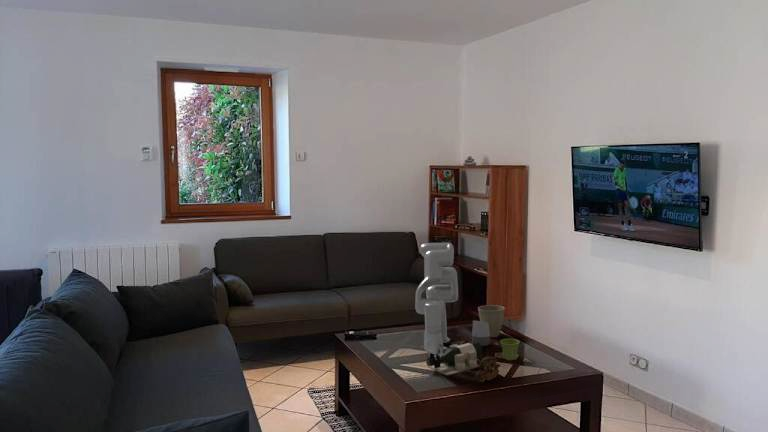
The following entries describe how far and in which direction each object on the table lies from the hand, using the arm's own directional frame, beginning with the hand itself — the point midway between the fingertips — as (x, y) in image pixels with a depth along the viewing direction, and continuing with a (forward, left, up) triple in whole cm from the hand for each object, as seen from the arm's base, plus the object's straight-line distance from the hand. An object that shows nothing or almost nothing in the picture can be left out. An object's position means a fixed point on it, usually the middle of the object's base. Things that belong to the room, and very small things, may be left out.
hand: (435, 366), depth 275 cm
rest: (0, +11, -2) cm, 11 cm away
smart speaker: (-18, +43, -3) cm, 46 cm away
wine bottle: (0, +26, +3) cm, 26 cm away
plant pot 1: (-28, +59, -3) cm, 65 cm away
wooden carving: (+24, +13, -3) cm, 27 cm away
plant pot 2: (+8, +40, -3) cm, 40 cm away
